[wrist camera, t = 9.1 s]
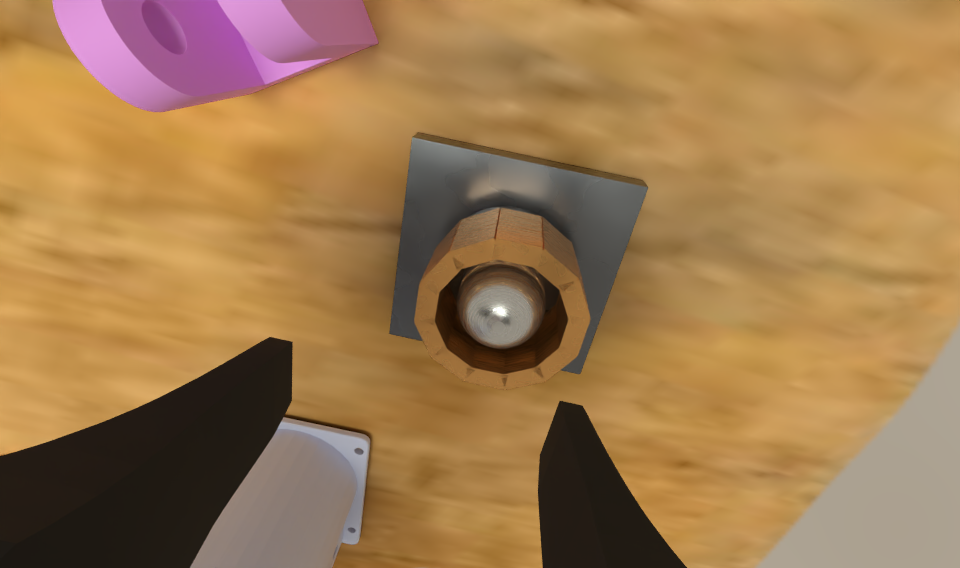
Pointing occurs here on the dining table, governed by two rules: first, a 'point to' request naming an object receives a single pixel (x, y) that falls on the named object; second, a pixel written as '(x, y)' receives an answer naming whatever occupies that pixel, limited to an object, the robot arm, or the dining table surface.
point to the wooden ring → (515, 243)
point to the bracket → (207, 44)
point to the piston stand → (500, 284)
